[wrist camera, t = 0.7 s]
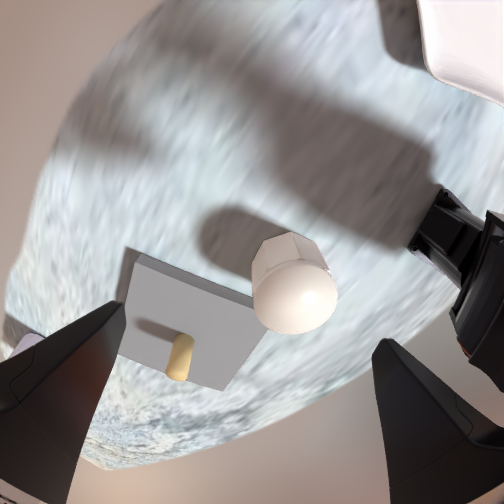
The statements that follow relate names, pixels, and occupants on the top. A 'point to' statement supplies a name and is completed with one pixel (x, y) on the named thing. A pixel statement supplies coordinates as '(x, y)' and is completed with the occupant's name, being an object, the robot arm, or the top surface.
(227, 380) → the post base
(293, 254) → the cap
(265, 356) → the top surface
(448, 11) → the salad plate
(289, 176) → the top surface
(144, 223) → the top surface
